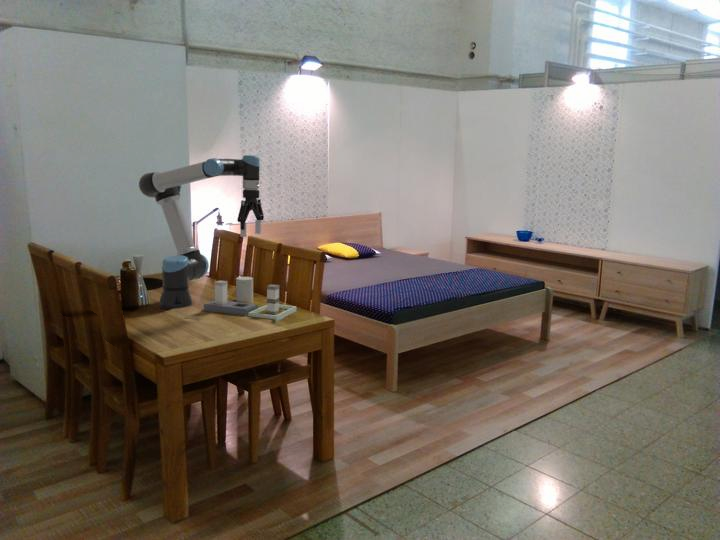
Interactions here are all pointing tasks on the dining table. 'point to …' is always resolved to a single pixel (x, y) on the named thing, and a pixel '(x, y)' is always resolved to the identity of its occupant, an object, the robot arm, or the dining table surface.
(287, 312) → the pale green rectangular frame
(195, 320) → the dining table surface
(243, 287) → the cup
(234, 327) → the dining table surface
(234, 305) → the fuse holder
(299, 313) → the dining table surface
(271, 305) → the fuse
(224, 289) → the cylinder
